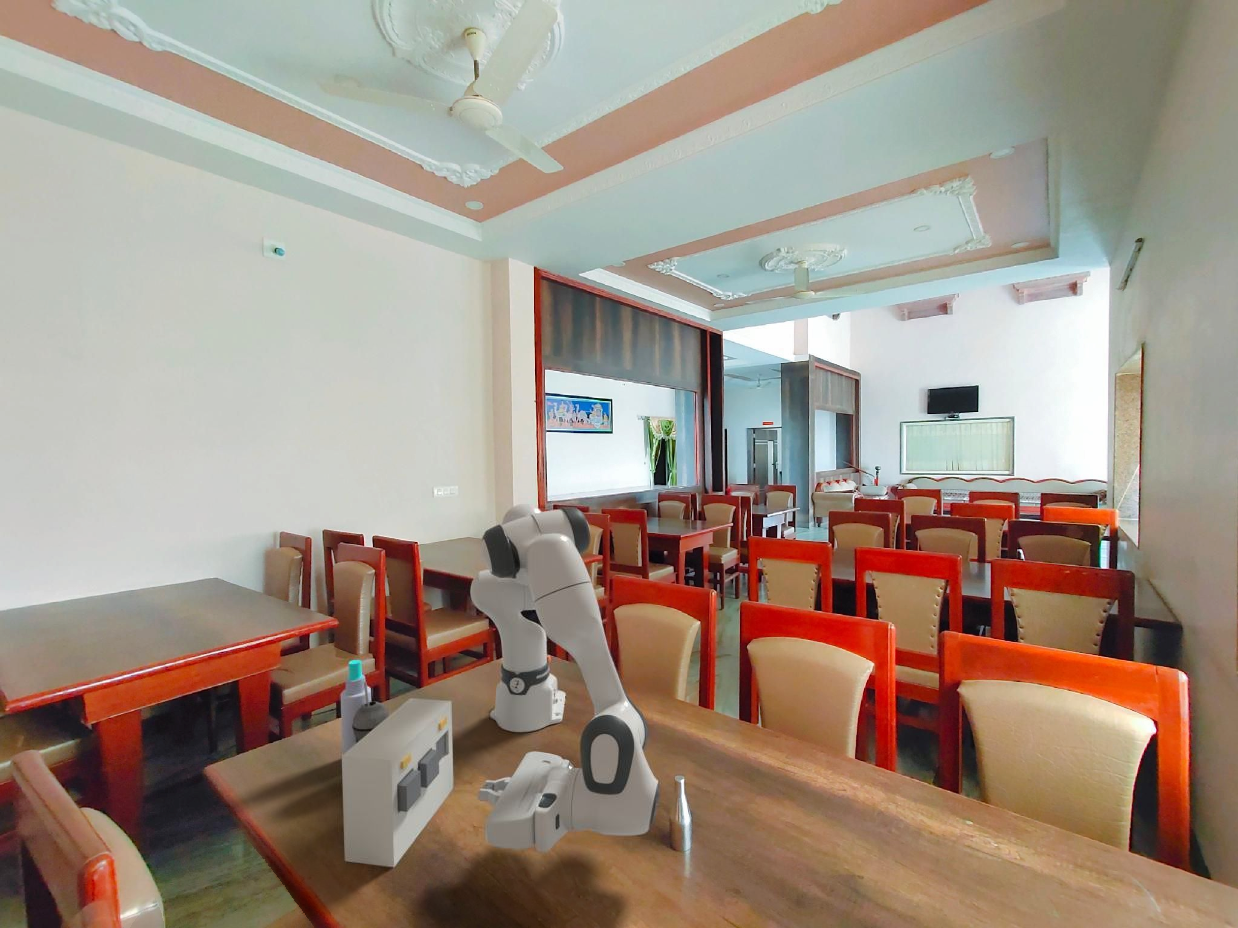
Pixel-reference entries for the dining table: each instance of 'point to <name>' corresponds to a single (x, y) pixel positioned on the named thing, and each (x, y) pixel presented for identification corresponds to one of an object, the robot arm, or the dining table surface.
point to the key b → (441, 746)
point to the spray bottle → (352, 702)
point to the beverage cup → (368, 717)
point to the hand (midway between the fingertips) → (481, 790)
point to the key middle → (429, 767)
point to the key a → (409, 790)
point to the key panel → (393, 781)
